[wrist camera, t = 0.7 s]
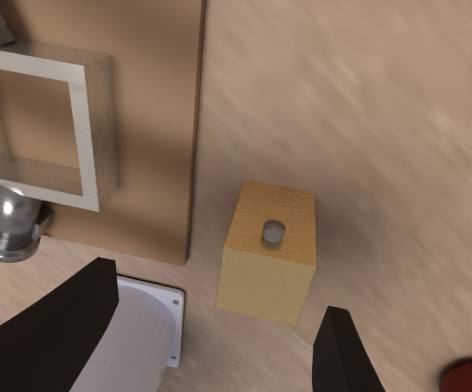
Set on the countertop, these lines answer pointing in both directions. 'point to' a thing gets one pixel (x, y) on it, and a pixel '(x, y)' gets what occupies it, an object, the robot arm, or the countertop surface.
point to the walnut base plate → (117, 115)
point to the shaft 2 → (21, 225)
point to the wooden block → (269, 253)
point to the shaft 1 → (5, 30)
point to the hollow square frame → (85, 124)
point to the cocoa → (458, 379)
